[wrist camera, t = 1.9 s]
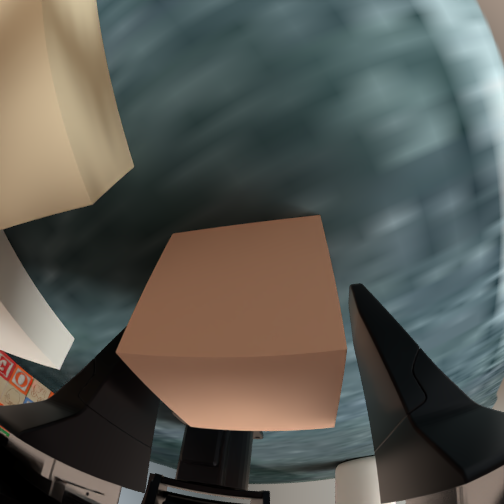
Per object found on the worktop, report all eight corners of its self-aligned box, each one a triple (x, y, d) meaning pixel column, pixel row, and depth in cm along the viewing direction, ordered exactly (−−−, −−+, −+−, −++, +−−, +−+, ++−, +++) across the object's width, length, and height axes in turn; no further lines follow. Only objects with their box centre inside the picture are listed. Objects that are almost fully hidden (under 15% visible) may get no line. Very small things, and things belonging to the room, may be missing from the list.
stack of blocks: (-38, 316, 20) (-75, 384, 10) (-33, 310, 18) (-76, 389, 8) (65, 409, 31) (44, 471, 21) (84, 413, 29) (62, 484, 19)
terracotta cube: (324, 316, 12) (333, 427, 8) (212, 324, 13) (190, 426, 9) (319, 213, 9) (347, 348, 5) (173, 232, 10) (115, 352, 6)
